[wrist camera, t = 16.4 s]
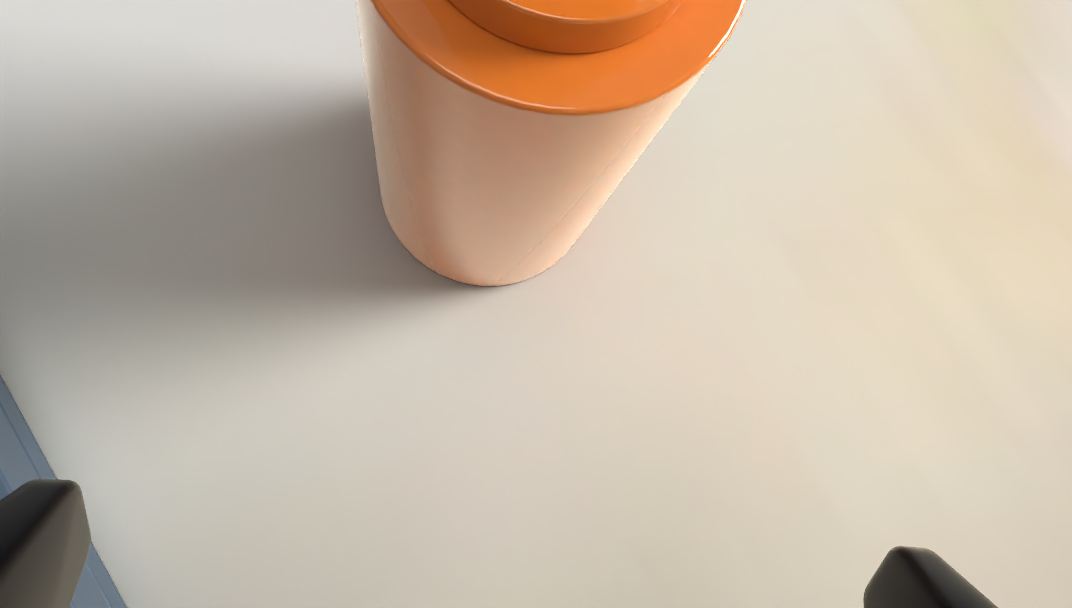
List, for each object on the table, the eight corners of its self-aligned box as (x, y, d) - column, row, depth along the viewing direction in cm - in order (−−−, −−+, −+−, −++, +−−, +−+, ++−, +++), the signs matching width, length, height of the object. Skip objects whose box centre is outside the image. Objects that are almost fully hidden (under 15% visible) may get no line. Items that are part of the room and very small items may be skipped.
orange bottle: (619, 250, 21) (937, -66, 8) (419, 315, 20) (427, 64, 7) (548, 63, 21) (740, -493, 9) (351, 115, 20) (249, -438, 8)
